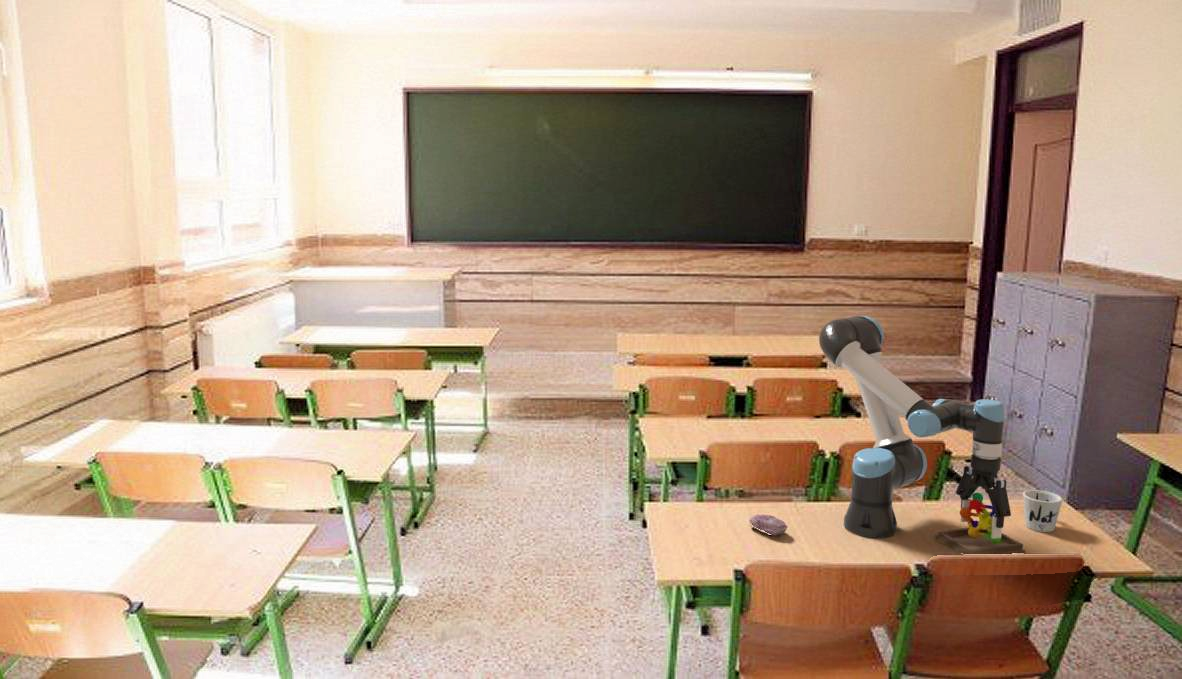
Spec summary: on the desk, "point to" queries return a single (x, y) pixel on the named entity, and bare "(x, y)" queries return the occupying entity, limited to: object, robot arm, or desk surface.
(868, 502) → the robot arm
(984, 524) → the molecular model
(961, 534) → the base
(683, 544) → the desk surface
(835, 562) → the desk surface
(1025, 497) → the mug
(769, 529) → the fossil
